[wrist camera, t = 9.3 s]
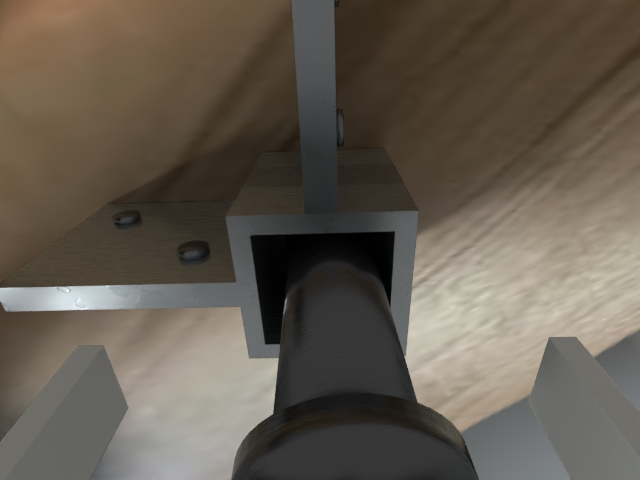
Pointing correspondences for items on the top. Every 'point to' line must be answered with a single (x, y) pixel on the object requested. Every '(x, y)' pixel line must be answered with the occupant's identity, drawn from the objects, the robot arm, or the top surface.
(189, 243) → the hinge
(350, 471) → the pin
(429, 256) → the top surface
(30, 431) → the robot arm
